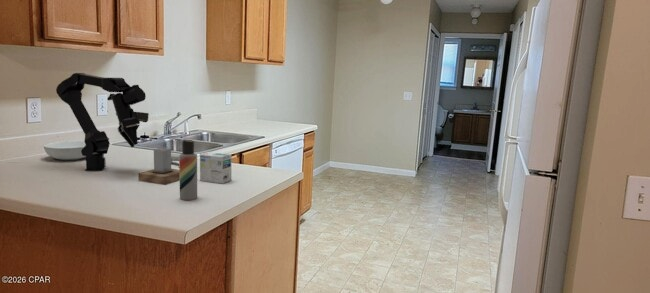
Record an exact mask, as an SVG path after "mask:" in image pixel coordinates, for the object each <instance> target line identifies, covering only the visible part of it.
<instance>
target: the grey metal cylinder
mask: <svg viewBox="0 0 650 293" xmlns="http://www.w3.org/2000/svg"><path fill="white" fill-rule="evenodd" d="M180 154H181V153H172V152H171V162H179V155H180Z"/></svg>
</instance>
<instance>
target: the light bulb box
mask: <svg viewBox="0 0 650 293" xmlns="http://www.w3.org/2000/svg"><path fill="white" fill-rule="evenodd" d="M199 181H200V182H201V181H202V182H209V183H216V184H223V185H224V183H227V182H231V181H232V154H230V153H229V154H228V153H221V152H211V151H208V152H204V153H200V154H199Z"/></svg>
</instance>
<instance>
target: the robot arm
mask: <svg viewBox="0 0 650 293" xmlns="http://www.w3.org/2000/svg"><path fill="white" fill-rule="evenodd" d="M85 85H88V86H89V85H90V86H93V87H99V88H100V89H102V90H103V91H106V92H109V95H108V97H107V101H112V103H113V106H114V110H115V115H116V117H117V120H118V127H117V131H118V132H117V133H119V135H121V137H122V138H123V139H124V141H126V143H127V144H128V145H129V146H130V147H131V148H135V146H136V145H138V135H137V134H138V132H137V131H138V128H139V127H140V124H141V122H142V123H147V122H149V113H148V112H142V111H140V112H139V111H134V108H132V107H131V106H133V105H136V104H138V103H141V102H144V101H145V100H146V97H147V96H146V93H145V91H144V90H143V89H142V88H141V87H140V86H139V84H133V85H131V86H130V85H129V83H127V82H126V80H125V79H124V77H104V76H99V75H92V74H86V73H85V72H74V73H73V74H71V75H70V76H69V77H67V78H65V79H64V80H62V81H61V82H60V83H59V84H58V85H57V86H56V90H55V91H56V94H57V95H58V97H59V98H60V99H61V101H62V102H63V103H65V104H67V105H68V106H69V108H70V109H71V112H72V113H73V115H74V117H75V118H76V120H77V122H78V124H79V126H80V128H81V130H82V131H83V133H84V140H83V141H84V142H85V144H86V145H85V147H84V148H83V149H82V150H81V153H82V156H86V157H85V165H86V168H85V171H103V170H104V169H105V168H106V167H107V166H106V164H107V162H106V157H105V154H108V150H109V147H110V145H111V144H110V138H109V137H108V135H107V132H105V131H104V130H102V131H100V130H98V128H97V126H96V124H95V122H94V120H92V118H91V116H90V114H89V111H88V110H87V108H86V106H85V105H84V102H83V101H82V97H83V92H82V90H84V89H85Z"/></svg>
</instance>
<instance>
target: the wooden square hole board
mask: <svg viewBox="0 0 650 293" xmlns="http://www.w3.org/2000/svg"><path fill="white" fill-rule="evenodd" d="M137 174H138V175H137V176H138V182H145V183H151V184H152V183H153V184H158V185H164V186H165V185H168V184H172V183H175V182H178V181H179V182H180V172H179V169H175V168H171V173H167V174H157V173H154V168H152V169H148V170H145V171H140V172H138V173H137Z"/></svg>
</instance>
